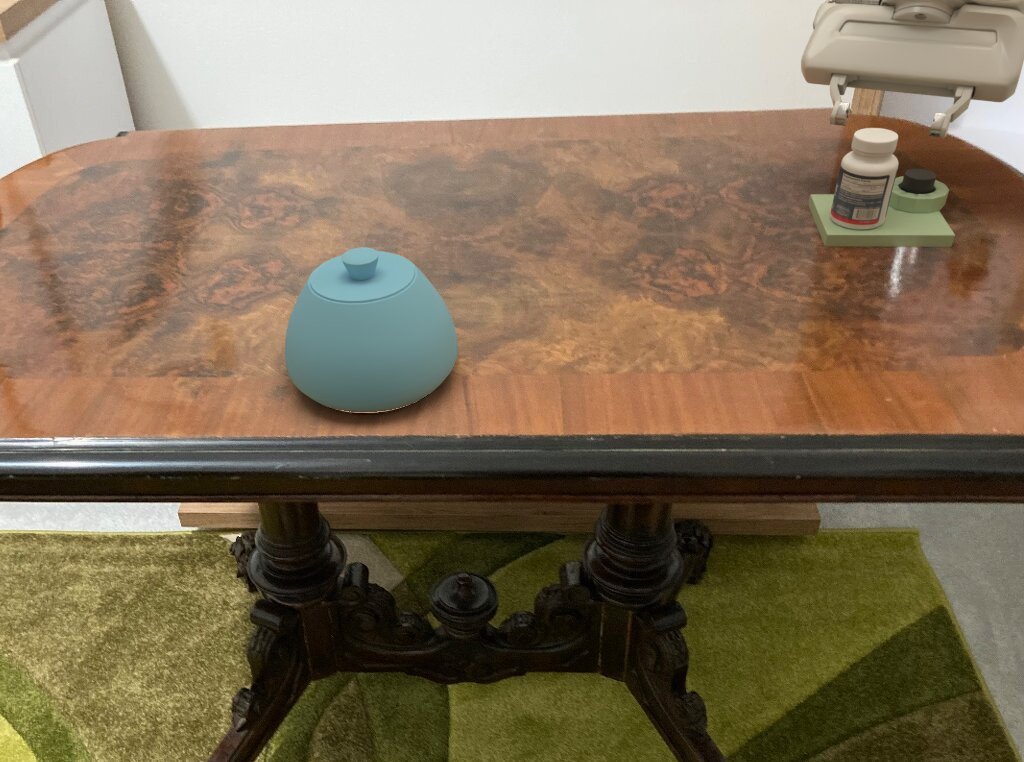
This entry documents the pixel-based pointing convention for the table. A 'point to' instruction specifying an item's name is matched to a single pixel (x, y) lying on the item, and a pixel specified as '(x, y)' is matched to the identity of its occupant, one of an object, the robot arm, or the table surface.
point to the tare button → (918, 181)
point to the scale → (891, 221)
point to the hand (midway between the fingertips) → (886, 128)
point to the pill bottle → (866, 180)
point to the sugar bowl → (369, 333)
